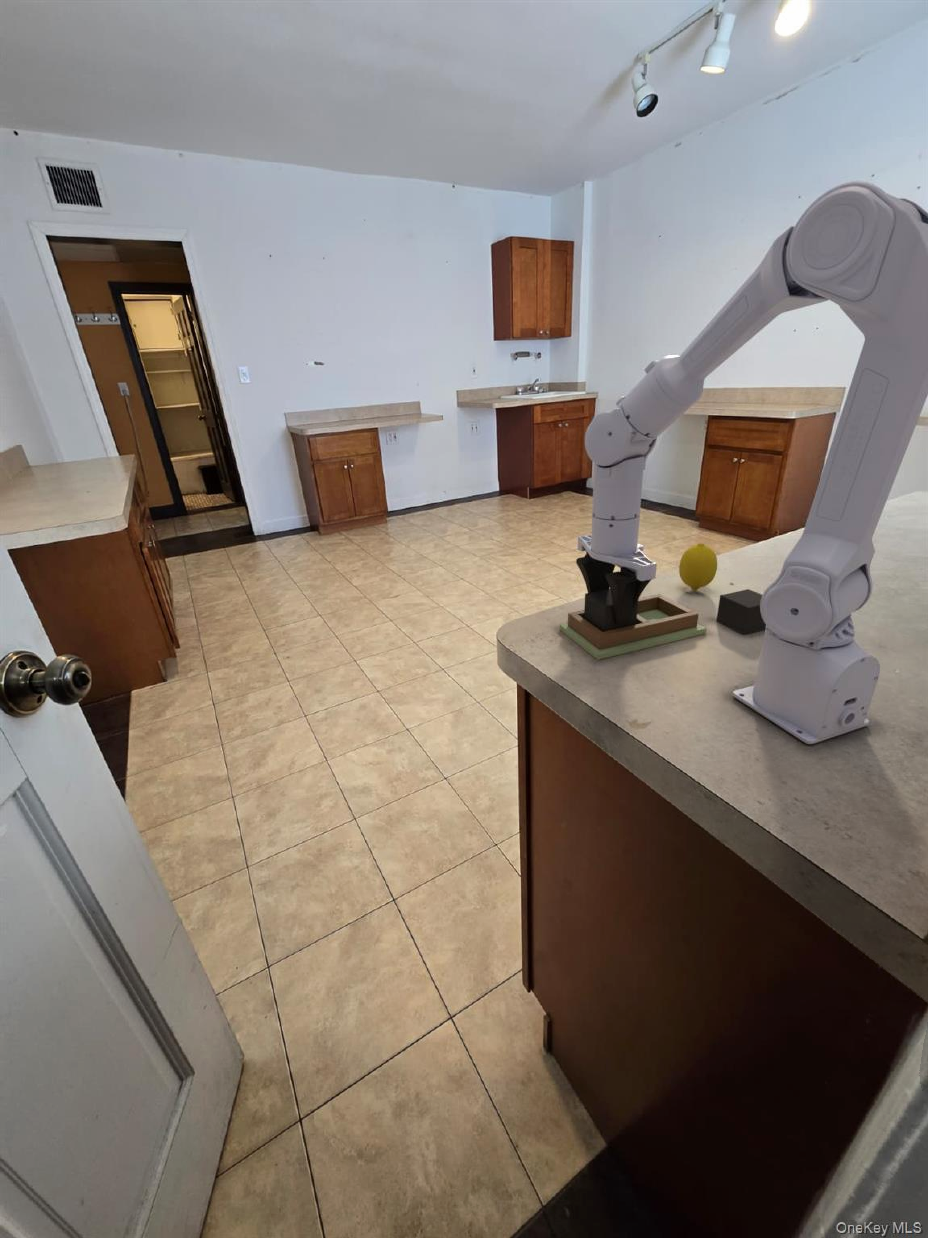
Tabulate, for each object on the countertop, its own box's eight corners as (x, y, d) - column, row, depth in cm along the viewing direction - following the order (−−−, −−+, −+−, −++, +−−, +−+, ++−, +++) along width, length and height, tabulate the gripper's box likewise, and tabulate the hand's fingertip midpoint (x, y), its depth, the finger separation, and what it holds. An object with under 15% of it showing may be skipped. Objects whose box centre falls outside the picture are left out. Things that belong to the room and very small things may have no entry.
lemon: (717, 596, 81) (724, 548, 77) (679, 596, 82) (685, 548, 79) (709, 584, 86) (716, 537, 82) (674, 583, 87) (679, 538, 83)
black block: (772, 627, 70) (778, 600, 68) (743, 635, 69) (748, 607, 67) (743, 614, 74) (748, 588, 73) (715, 621, 73) (719, 595, 71)
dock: (706, 633, 70) (708, 614, 69) (597, 660, 65) (598, 640, 64) (658, 607, 79) (659, 590, 77) (559, 629, 74) (559, 611, 73)
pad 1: (636, 626, 69) (638, 599, 67) (603, 634, 67) (605, 606, 66) (614, 613, 73) (616, 587, 71) (583, 619, 72) (584, 593, 70)
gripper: (682, 522, 59) (670, 628, 64) (610, 500, 71) (605, 591, 77) (630, 531, 57) (622, 640, 62) (565, 507, 69) (563, 599, 75)
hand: (610, 613), depth 70 cm, fingers closed on pad 1, 5 cm apart
